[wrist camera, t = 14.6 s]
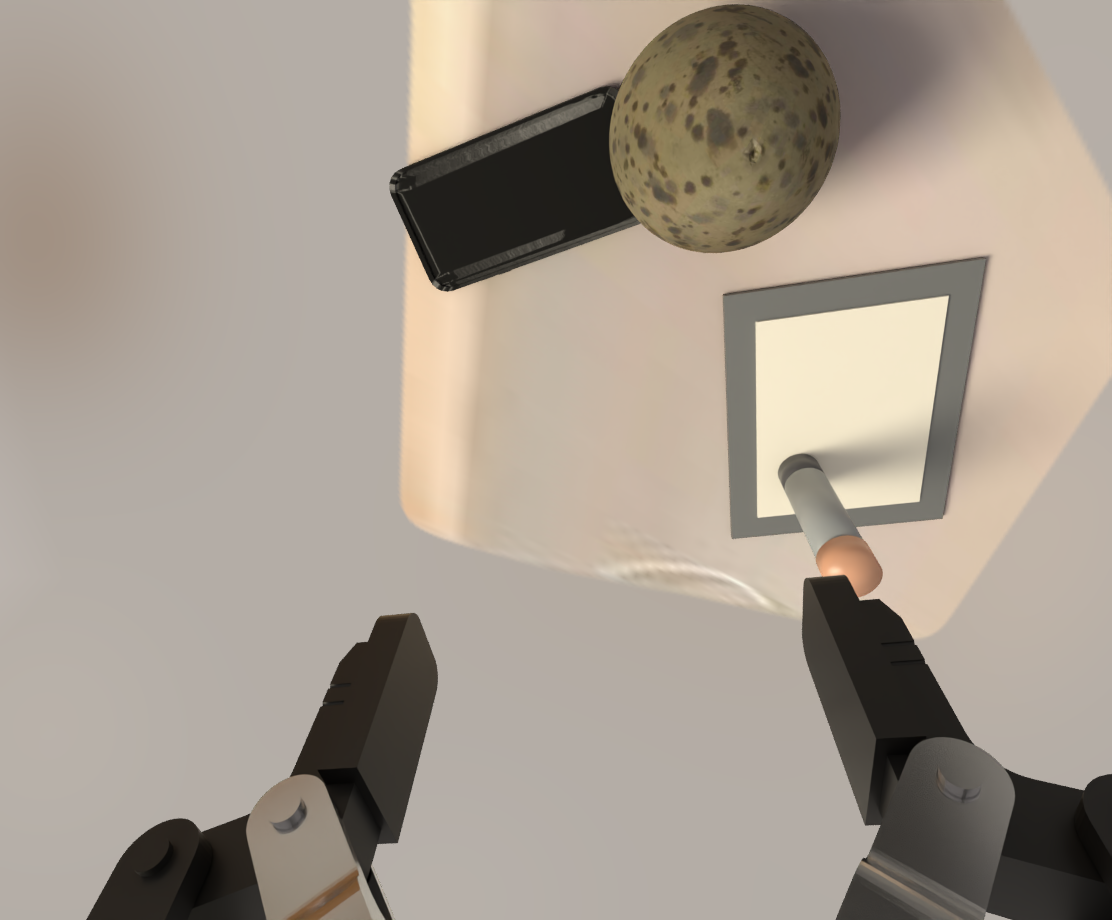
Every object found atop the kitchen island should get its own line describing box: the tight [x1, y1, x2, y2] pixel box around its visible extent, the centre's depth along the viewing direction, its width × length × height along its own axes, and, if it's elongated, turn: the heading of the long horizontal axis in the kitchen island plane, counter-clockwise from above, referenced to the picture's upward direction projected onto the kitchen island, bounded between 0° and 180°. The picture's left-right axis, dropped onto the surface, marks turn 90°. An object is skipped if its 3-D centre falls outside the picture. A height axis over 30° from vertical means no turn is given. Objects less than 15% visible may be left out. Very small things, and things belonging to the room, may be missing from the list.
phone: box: [390, 86, 640, 292], centre depth 40 cm, size 8×1×15 cm
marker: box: [778, 454, 883, 597], centre depth 43 cm, size 3×3×12 cm
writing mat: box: [723, 257, 986, 539], centre depth 46 cm, size 20×16×1 cm
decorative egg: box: [609, 5, 840, 253], centre depth 31 cm, size 11×11×15 cm
